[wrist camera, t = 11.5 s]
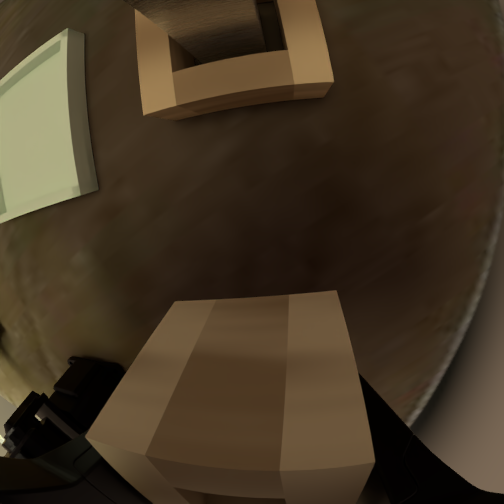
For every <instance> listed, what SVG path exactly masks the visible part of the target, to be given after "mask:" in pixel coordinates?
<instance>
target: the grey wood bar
mask: <svg viewBox="0 0 504 504" xmlns="http://www.w3.org/2000/svg"><path fill="white" fill-rule="evenodd" d="M124 1H125V2H126V3H128V4H129V5H131V6H132V7H133V8H135V9H136V10H137V11H139V12H140V13H141V14H143V15H144V16H145V17H147V18H148V19H149V20H151V21H152V22H153V23H154V24H156V25H157V26H158V27H160V28H161V29H162V30H163V31H165V32H166V33H167V34H168V35H169V36H171V37H172V38H173V39H174V40H175V41H177V42H178V43H179V44H180V45H181V46H183V47H184V48H185V49H186V50H187V51H188V52H190V53H191V54H192V55H193V56H194V57H195V58H196V59H197V60H199V61H200V62H201V63H202V64H206V63H210V62H215V61H219V60H224V59H229V58H234V57H240V56H245V55H251V54H258V53H265V52H267V50H266V45H265V39H264V34H263V29H262V24H261V19H260V14H259V10H258V6H257V2H256V0H124Z"/></svg>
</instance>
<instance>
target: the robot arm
mask: <svg viewBox="0 0 504 504" xmlns="http://www.w3.org/2000/svg"><path fill="white" fill-rule="evenodd" d="M68 364H69V365H70V367H69V369H68V370H67V371H66V372H65V373H64V374H63V376H62V377H61V378H60V379H59V380H58V382H57V383H56V384H55V385H54V388H53V389H54V390H55V392H54V393H53V394H52V395H51V397H50V398H49V399H48V396H47V395H46V394H45V393H44V392H43V393H42V394H41V395H39V394H37V393H36V392H34V391H32V392H31V393H30V394H29V395H28V396H27V398H26V399H25V400H24V401H23V402H22V403H21V405H20V406H19V407H18V408H17V410H16V411H15V412H14V413H13V414H12V416H11V417H10V418H9V419H8V420H7V422H6V423H5V424H4V428H5V433H6V435H5V437H4V438H5V441H4V442H3V444H2V446H3V447H4V448H5V449H6V450H7V451H8V452H7V453H6V455H5V456H4V457H1V456H0V504H153V503H152V502H151V501H149V500H148V499H147V498H146V497H145V496H143V495H142V494H141V493H140V492H139V491H138V490H136V489H135V488H134V487H133V486H132V485H131V484H130V483H129V482H128V481H126V480H125V479H124V478H123V477H122V476H121V475H120V474H119V473H118V472H117V471H116V470H115V469H114V468H113V467H112V466H111V465H110V464H109V463H108V462H107V461H106V460H105V459H104V458H103V457H102V456H101V455H100V453H99V452H98V451H97V450H96V449H95V448H94V447H93V446H92V445H91V443H90V442H89V441H88V440H87V439H86V438H85V436H86V434H87V433H88V431H89V429H90V428H91V426H92V425H93V423H94V421H95V420H96V418H97V417H98V415H99V414H100V412H101V410H102V409H103V407H104V406H105V404H106V403H107V401H108V400H109V398H110V396H111V395H112V393H113V392H114V390H115V389H116V387H117V386H118V384H119V383H120V381H121V380H122V378H123V377H124V375H125V373H124V371H123V369H122V368H121V367H120V366H119V365H117V364H112V363H104V362H98V361H91V360H85V359H80V358H74V357H70V358H69V359H68ZM358 375H359V379H360V384H361V388H362V393H363V398H364V402H365V407H366V412H367V417H368V422H369V428H370V433H371V439H372V445H373V451H374V457H375V464H374V466H373V468H372V471H371V473H370V475H369V477H368V479H367V482H366V484H365V486H364V488H363V490H362V492H361V494H360V496H359V498H358V500H357V502H356V504H504V494H501V493H493V492H487V491H484V490H481V489H479V488H477V487H475V486H473V485H472V484H470V483H469V482H467V481H466V480H465V479H464V478H463V477H461V476H460V475H459V474H457V473H456V472H455V471H454V470H452V469H451V468H450V467H449V466H447V465H446V464H445V463H444V462H442V461H441V460H440V459H439V458H438V457H437V456H436V455H434V454H433V453H432V452H431V451H430V450H429V449H428V448H427V447H426V446H425V445H424V444H423V443H422V442H421V440H419V438H418V437H417V436H416V435H414V433H413V432H412V431H411V430H410V428H409V427H408V426H407V425H406V424H405V423H404V422H403V421H402V420H401V419H400V418H399V416H398V415H397V414H396V413H395V412H394V411H393V410H392V409H391V408H390V407H389V405H388V404H387V403H386V402H385V401H384V400H383V399H382V398H381V397H380V396H379V394H378V393H377V392H376V391H375V390H374V389H373V388H372V387H371V386H370V385H369V384H368V382H367V381H366V380H365V379H364V378H363V377H362V376H361V375H360V374H359V373H358ZM35 415H37V416H38V417H40V418H41V419H42V420H41V421H39V420H38V419H37V418H36V417H35Z"/></svg>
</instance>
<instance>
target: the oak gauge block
mask: <svg viewBox="0 0 504 504" xmlns="http://www.w3.org/2000/svg"><path fill="white" fill-rule="evenodd" d="M272 1H274V5H275V10H276V14H277V18H278V23H279V28H280V32H281V37H282V42H283V47H284V50H281V51H273V52H265V53H258V54H251V55H245V56H240V57H234V58H229V59H224V60H219V61H215V62H210V63H206V64H202V65H198V66H195V62H194V56H193V55H192V54H191V53H190V52H188V51H187V50H186V49H185V48H184V47H183V46H181V45H180V44H179V43H178V42H177V41H175V40H174V39H173V38H172V37H171V36H169V35H168V34H167V33H166V32H165V31H163V30H162V29H161V28H160V27H158V26H157V25H156V24H154V23H153V22H152V21H151V20H149V19H148V18H147V17H145V16H144V15H143V14H141V13H140V12H139V11H137V10H136V9H135V23H136V43H137V57H138V69H139V80H140V90H141V99H142V107H143V115H145V116H151V117H157V118H162V119H167V120H173V121H177V120H181V119H185V118H189V117H193V116H198V115H202V114H207V113H211V112H216V111H221V110H227V109H232V108H238V107H244V106H250V105H257V104H264V103H271V102H279V101H288V100H298V99H310V98H323V97H324V96H325V94H326V93H327V91H328V90H329V89H330V87H331V86H332V84H333V83H334V78H333V73H332V68H331V63H330V58H329V54H328V49H327V45H326V41H325V36H324V32H323V28H322V24H321V20H320V17H319V13H318V9H317V6H316V2H315V0H256V2H257V3H264V2H272Z"/></svg>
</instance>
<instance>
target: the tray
mask: <svg viewBox="0 0 504 504" xmlns="http://www.w3.org/2000/svg"><path fill="white" fill-rule="evenodd" d="M84 35H85V34H83V33H80V32H78V31H75V30H72V29H70V28H67V29H65V30H64V31H62V32H61V33H59V34H58V35H56V36H55V37H53V38H52V39H51V40H49V41H48V42H46V43H45V44H44V45H42V46H41V47H40V48H38V49H37V50H36V51H34V52H33V53H32V54H30V55H29V56H28V57H27V58H25V59H24V60H23V61H22V62H21V63H19V64H18V65H17V66H16V67H15V68H14V69H12V70H11V71H10V72H9V73H8V74H7V75H6V76H5V77H4V78H2V79H1V80H0V223H2V222H5V221H7V220H10V219H13V218H15V217H18V216H20V215H23V214H26V213H29V212H31V211H34V210H37V209H40V208H43V207H46V206H49V205H52V204H55V203H58V202H61V201H64V200H67V199H71V198H74V197H77V196H81V195H84V194H87V193H90V192H93V191H97V190H99V188H98V183H97V177H96V172H95V166H94V160H93V153H92V147H91V139H90V132H89V123H88V113H87V102H86V88H85V64H84Z"/></svg>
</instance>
